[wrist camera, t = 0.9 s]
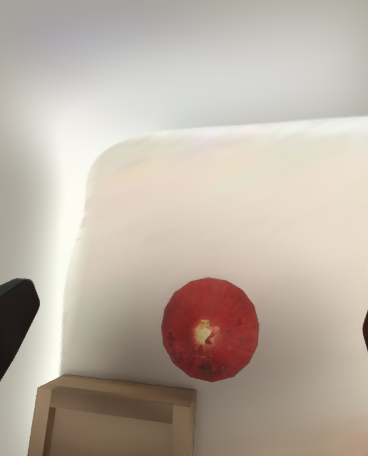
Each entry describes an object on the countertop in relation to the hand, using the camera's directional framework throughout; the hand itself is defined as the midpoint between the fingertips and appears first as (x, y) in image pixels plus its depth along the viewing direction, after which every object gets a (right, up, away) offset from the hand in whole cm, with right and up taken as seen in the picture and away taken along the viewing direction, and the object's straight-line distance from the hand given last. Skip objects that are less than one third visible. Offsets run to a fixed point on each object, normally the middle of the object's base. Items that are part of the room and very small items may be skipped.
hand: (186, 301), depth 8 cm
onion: (+2, -5, +14) cm, 15 cm away
